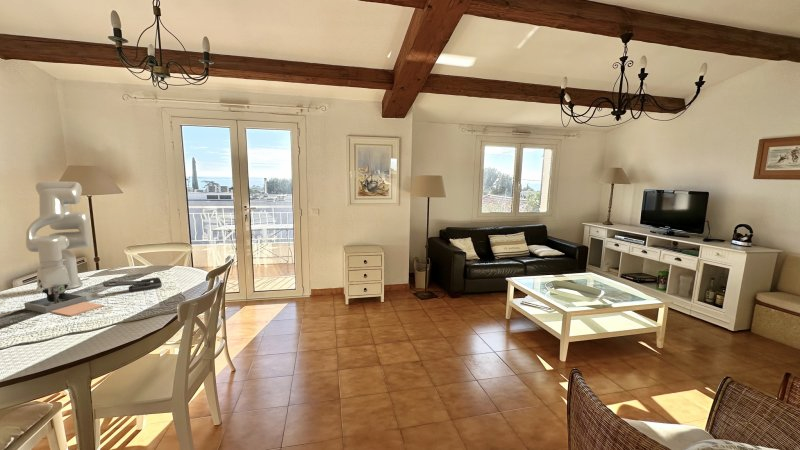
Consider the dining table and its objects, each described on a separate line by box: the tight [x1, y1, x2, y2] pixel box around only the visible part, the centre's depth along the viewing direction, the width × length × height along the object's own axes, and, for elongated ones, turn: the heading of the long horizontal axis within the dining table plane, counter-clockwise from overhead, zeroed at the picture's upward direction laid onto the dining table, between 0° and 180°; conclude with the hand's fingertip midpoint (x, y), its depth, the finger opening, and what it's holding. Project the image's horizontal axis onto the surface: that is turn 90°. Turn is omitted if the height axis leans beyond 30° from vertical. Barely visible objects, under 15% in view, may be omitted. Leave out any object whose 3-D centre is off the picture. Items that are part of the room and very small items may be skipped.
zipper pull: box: [102, 276, 163, 293], centre depth 183 cm, size 9×7×25 cm
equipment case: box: [23, 291, 106, 314], centre depth 164 cm, size 24×16×3 cm, turn 163°
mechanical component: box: [52, 286, 66, 304], centre depth 160 cm, size 3×10×10 cm, turn 78°
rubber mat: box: [50, 301, 105, 317], centre depth 156 cm, size 13×14×1 cm
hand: (56, 299), depth 160 cm, fingers closed on mechanical component, 3 cm apart
